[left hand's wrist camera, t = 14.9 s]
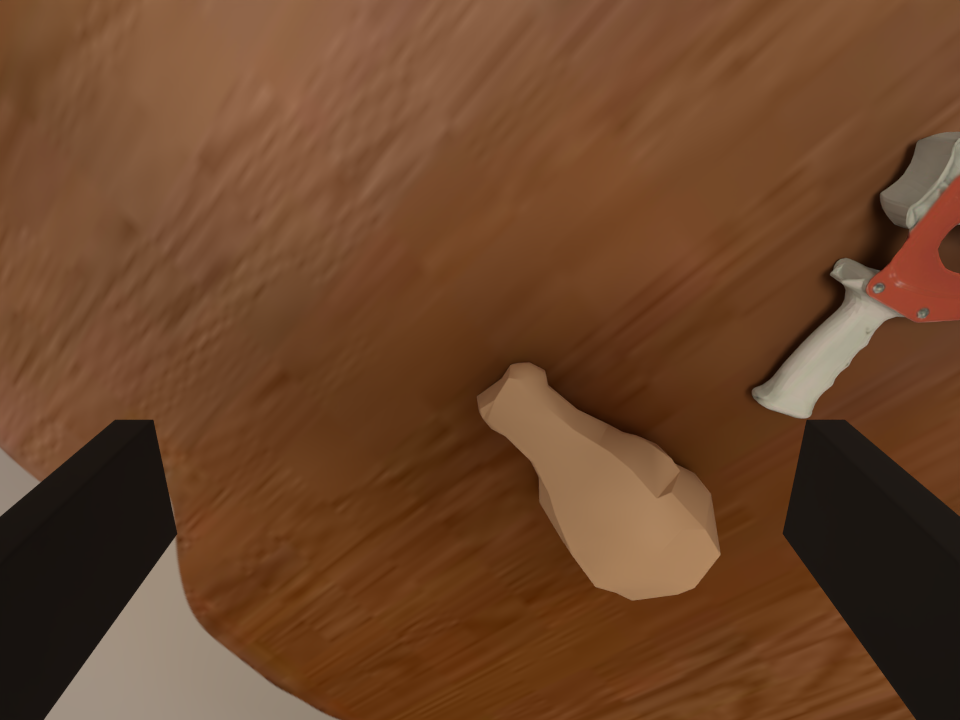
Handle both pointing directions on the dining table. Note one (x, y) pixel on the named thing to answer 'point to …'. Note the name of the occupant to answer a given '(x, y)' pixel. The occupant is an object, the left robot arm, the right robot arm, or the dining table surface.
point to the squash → (607, 490)
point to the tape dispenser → (883, 280)
